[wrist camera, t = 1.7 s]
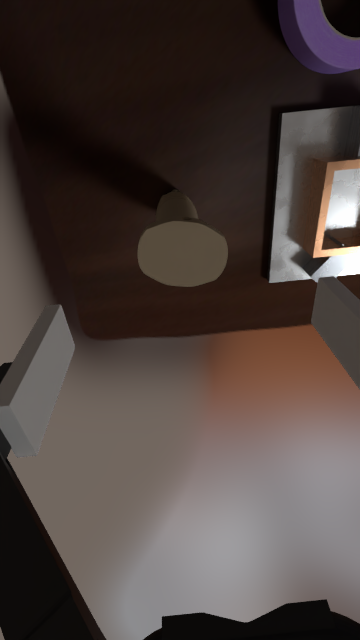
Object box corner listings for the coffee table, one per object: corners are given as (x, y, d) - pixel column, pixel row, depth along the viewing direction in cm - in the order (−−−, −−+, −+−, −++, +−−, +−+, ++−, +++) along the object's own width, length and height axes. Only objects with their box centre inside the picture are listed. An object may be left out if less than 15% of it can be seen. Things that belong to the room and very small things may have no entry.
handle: (146, 177, 33) (139, 216, 21) (206, 184, 34) (233, 226, 22) (143, 222, 36) (136, 282, 24) (199, 228, 37) (220, 289, 24)
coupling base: (279, 113, 31) (293, 113, 28) (442, 96, 31) (476, 94, 28) (266, 279, 41) (276, 294, 38) (390, 267, 41) (410, 281, 38)
